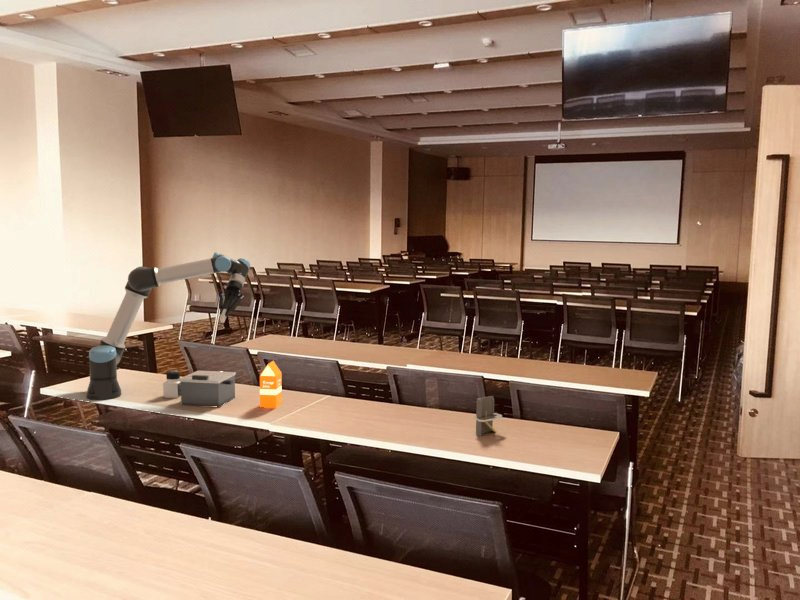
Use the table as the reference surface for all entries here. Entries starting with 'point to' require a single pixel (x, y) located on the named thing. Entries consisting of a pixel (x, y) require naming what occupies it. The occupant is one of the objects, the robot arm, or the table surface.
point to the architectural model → (485, 415)
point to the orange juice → (271, 386)
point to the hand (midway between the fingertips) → (221, 321)
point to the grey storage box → (207, 393)
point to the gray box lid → (207, 377)
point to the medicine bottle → (172, 385)
